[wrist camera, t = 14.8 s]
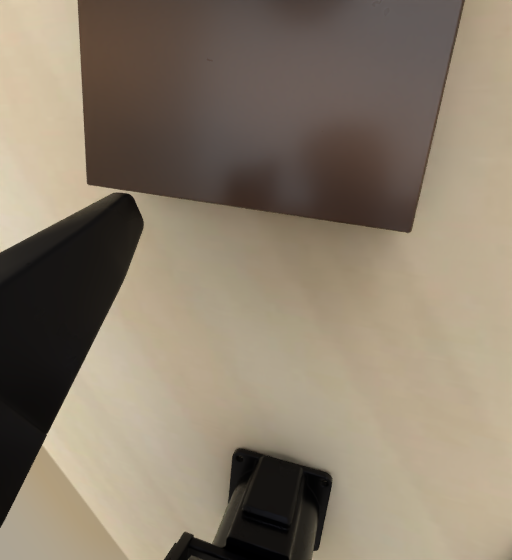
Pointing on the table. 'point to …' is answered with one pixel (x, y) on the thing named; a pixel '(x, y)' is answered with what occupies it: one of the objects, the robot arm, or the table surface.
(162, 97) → the shelf
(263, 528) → the robot arm
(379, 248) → the table surface
